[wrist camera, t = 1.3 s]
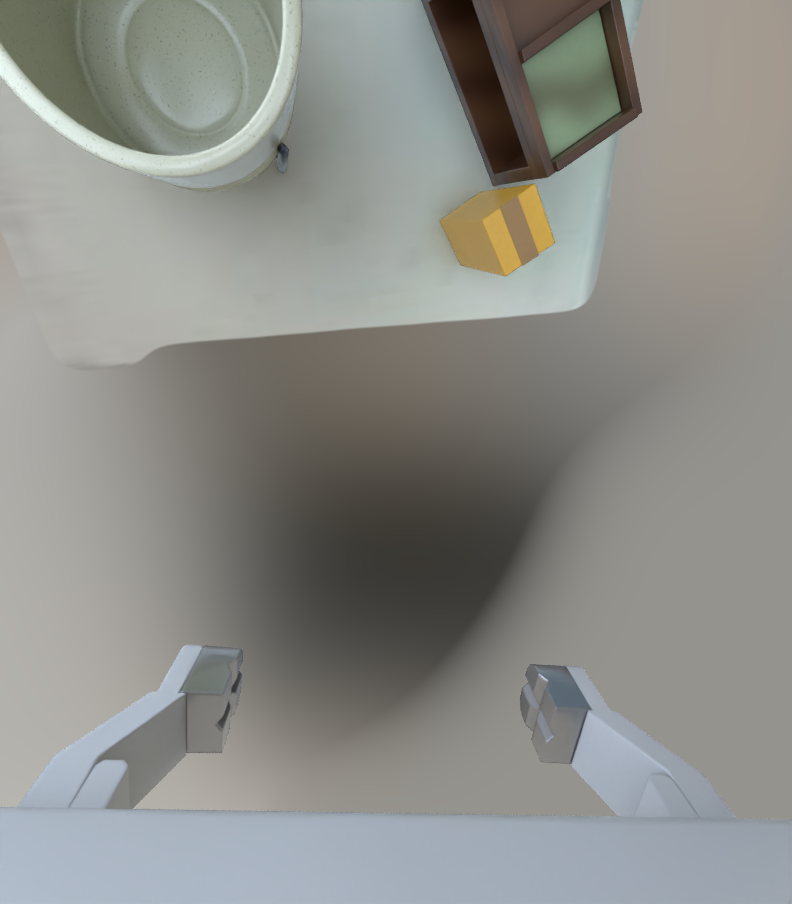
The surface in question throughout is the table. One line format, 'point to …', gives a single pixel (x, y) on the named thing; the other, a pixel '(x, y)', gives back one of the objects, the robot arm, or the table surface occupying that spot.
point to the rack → (537, 78)
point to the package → (499, 229)
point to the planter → (161, 81)
